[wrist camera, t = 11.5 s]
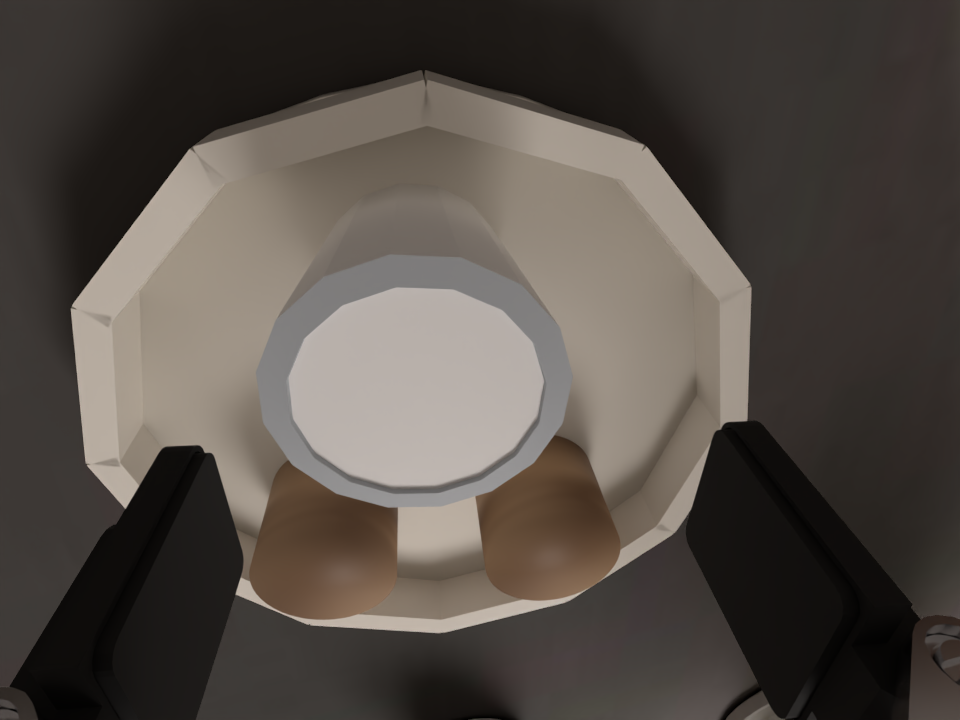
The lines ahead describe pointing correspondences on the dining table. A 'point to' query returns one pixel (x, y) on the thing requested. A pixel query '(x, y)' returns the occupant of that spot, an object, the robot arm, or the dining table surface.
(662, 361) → the tray
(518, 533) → the bead
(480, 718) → the supplement bottle
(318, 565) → the bead
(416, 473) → the white rimmed cylinder
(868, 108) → the dining table surface
